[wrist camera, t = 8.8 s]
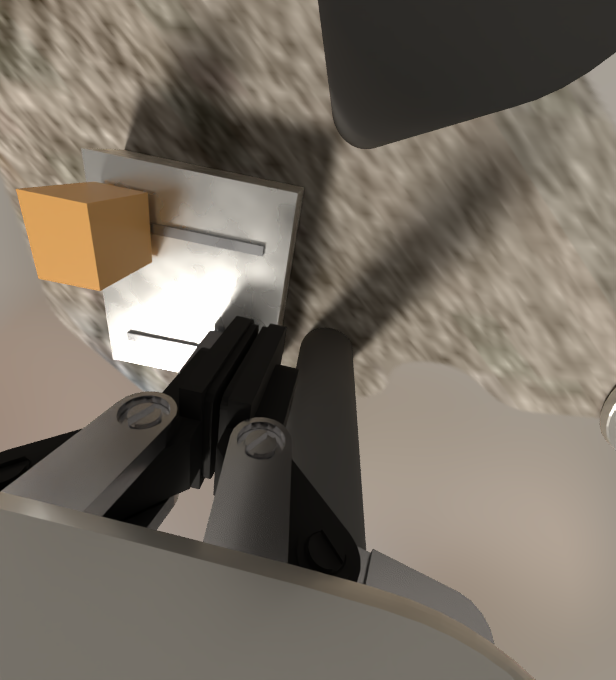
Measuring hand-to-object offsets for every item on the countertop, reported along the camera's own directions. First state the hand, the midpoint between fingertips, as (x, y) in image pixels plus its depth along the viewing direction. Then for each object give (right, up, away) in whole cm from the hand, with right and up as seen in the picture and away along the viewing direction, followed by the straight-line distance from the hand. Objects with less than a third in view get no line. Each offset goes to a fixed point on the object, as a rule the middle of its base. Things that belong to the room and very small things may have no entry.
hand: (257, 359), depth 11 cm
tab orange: (-9, +8, +8) cm, 14 cm away
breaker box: (-6, +6, +14) cm, 16 cm away
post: (+3, 0, +16) cm, 17 cm away
